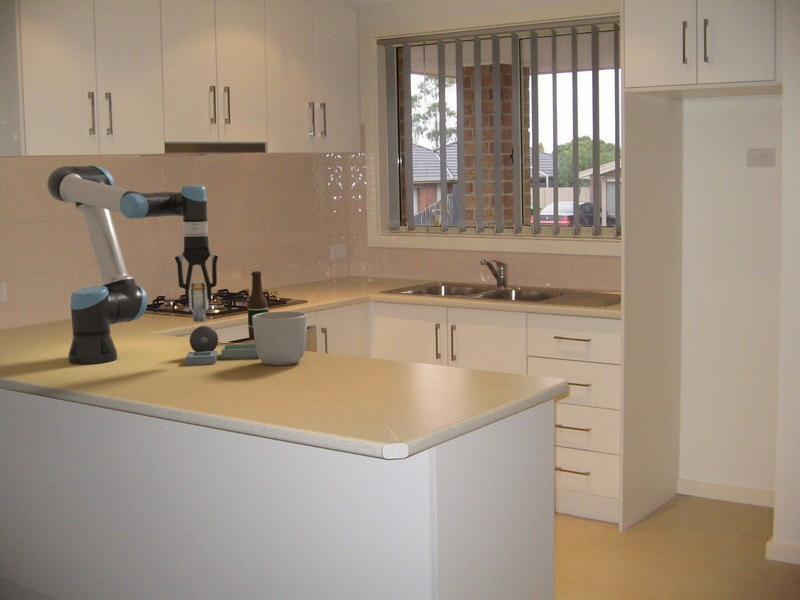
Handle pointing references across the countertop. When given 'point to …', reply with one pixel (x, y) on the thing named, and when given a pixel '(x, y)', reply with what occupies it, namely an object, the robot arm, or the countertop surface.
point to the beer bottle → (256, 301)
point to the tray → (239, 351)
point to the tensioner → (203, 346)
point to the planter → (280, 336)
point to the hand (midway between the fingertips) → (199, 309)
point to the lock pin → (198, 301)
